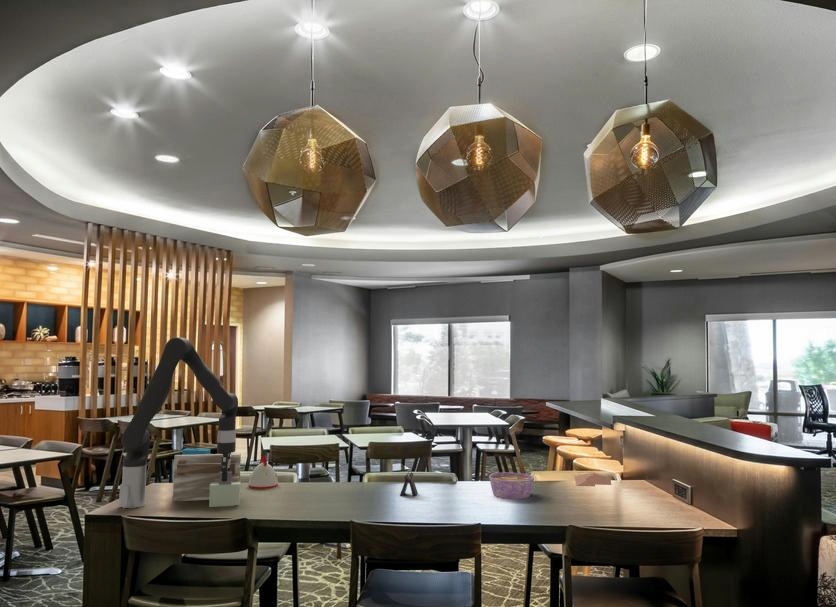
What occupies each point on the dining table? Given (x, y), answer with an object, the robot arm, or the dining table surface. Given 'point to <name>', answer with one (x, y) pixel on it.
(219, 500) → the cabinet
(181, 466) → the grey brown rectangular box
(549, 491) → the dining table surface
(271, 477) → the kitchen timer
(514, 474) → the bowl of food
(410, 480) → the dark grey angled piece
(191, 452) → the block
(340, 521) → the dining table surface
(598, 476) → the house
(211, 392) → the robot arm
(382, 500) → the dining table surface
